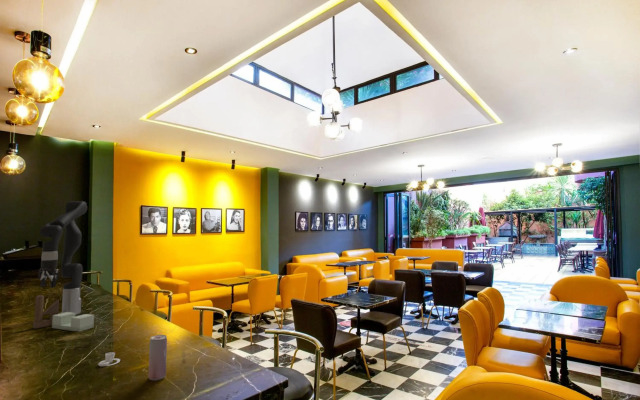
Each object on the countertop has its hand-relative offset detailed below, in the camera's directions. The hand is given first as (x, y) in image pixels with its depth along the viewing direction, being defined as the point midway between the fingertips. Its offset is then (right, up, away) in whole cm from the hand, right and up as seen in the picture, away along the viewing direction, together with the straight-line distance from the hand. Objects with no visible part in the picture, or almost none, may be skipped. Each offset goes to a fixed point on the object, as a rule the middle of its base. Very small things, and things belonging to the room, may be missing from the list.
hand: (47, 286), depth 195 cm
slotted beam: (+18, -22, -5) cm, 29 cm away
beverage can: (+98, -17, -68) cm, 121 cm away
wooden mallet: (0, -23, -2) cm, 23 cm away
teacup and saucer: (+67, -19, -55) cm, 89 cm away
